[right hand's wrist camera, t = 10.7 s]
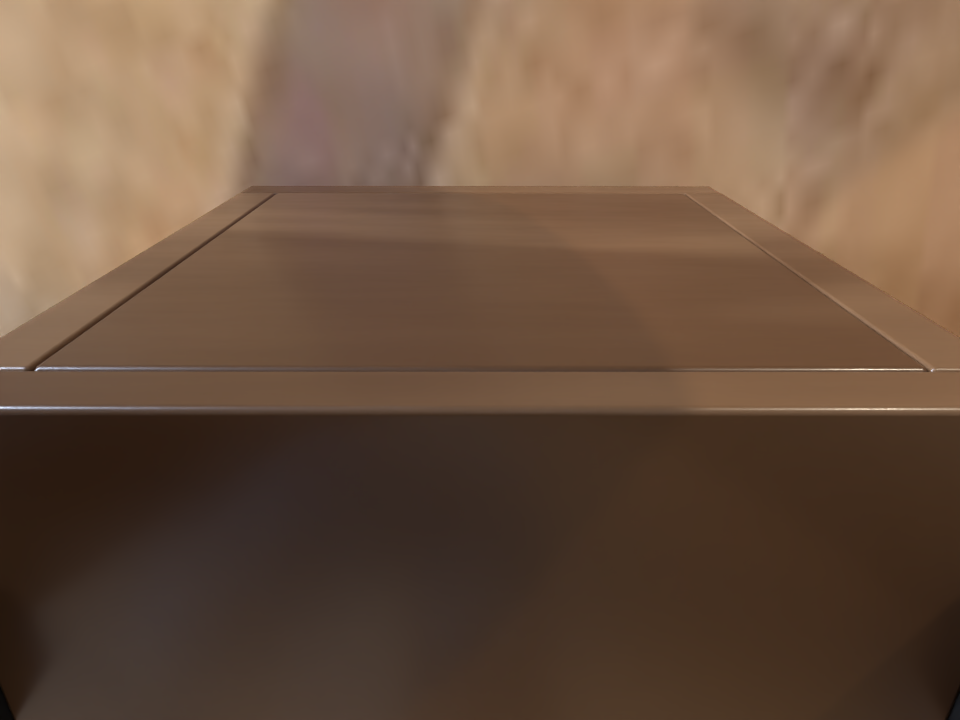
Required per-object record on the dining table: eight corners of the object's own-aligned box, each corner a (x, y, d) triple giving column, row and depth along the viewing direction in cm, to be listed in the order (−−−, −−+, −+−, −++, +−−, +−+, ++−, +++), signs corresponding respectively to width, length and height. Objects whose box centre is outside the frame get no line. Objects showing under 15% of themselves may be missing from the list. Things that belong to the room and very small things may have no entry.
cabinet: (627, 769, 25) (726, 1247, 15) (330, 769, 25) (232, 1247, 15) (711, 186, 16) (1083, 408, 6) (250, 185, 16) (-122, 408, 6)
